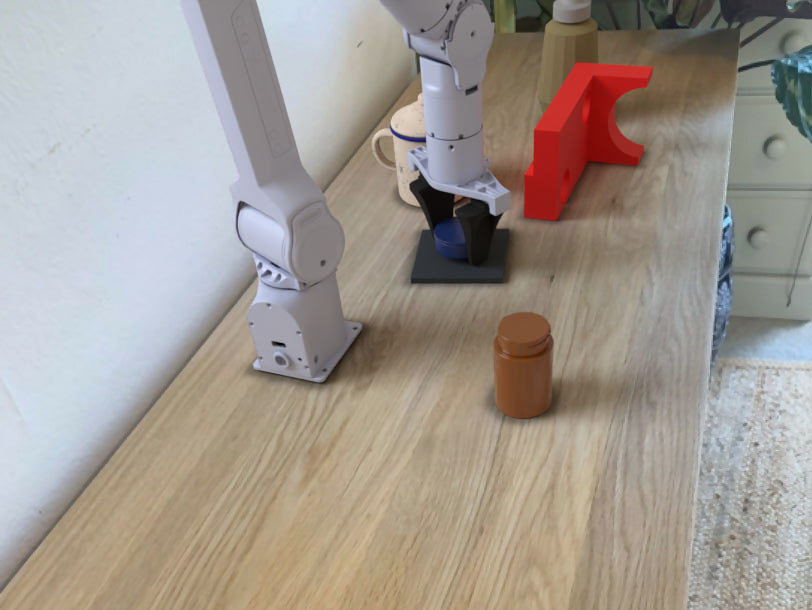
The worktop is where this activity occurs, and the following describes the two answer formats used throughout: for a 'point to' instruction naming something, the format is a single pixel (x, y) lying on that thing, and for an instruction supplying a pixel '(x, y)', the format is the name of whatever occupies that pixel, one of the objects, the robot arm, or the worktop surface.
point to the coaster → (459, 263)
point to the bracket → (579, 134)
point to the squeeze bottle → (566, 46)
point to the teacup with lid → (404, 146)
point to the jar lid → (450, 239)
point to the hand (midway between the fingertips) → (460, 250)
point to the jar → (523, 365)
